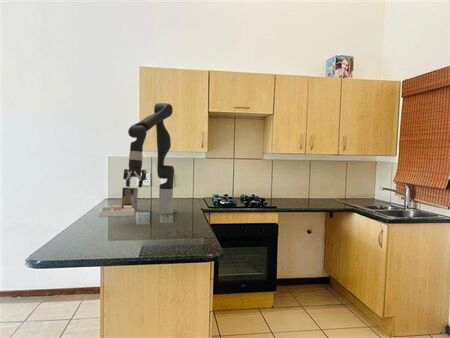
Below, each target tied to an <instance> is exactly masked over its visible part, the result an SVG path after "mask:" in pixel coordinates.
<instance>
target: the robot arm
mask: <svg viewBox="0 0 450 338" xmlns="http://www.w3.org/2000/svg"><path fill="white" fill-rule="evenodd" d="M153 109H154V111H153V113H152V114H150V115H147V116H146V117H144V118H143V119H142V120H141V121H139V122H136V123H134V124H132V125H131V126H130V127H129V128H128V130H127V131H128V136H129V137H130V138H133V139H135V140H133V141H132V142H130V147H129V148H130V149H129V156H128V169H127V168H124V170H123V176H122V179H123V180H125V188H127V187H128V188H131V179H132V178H133V177H134V178H137V179H138V189H139V188H142V187H143V185H144V184H143V182H144V181H146V180H147V170H146V169H142V168H143V157H144V156H143V149H144V147H143V146H144V143H145V141H146V137H147V134H148V133H147V132H149V131H150V130H151V129H152V128H153V127H155V128H156V147H157V148H156V149H157V150H156V151H157V166H156V168H157V170H156V172H157V177H158V178H159V179H163V180H164V179H165V180H166V181H165V182H163V183H161V184H159V187H158V188H159V189H158V190H159V192H158V193H159V194H158V195H159V196H158V197H159V198H158V214H160V215H171V214H173V213H174V199H173V198H174V197H173V196H174V179H175V167H174V165H166V164H165V158H166V156H167V155H168V153H169V151H170V149H171V145H172V143H171V140H172V139H171V136H170V135H171V134H170V133H169V131H168V130H167V128H166V126H165V124H164V120H166V119H168V118H170V117H171V116H172V115H173V112H174V111H173V110H174V108H173V106H172V104H170V103H165V102H164V103H162V102H161V103H160V102H159V103H155V105H154V108H153Z"/></svg>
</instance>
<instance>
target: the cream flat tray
mask: <svg viewBox="0 0 450 338" xmlns="http://www.w3.org/2000/svg"><path fill="white" fill-rule="evenodd" d="M134 216H135V211H134V209H132V210H123V209H122V210H121V211H113V208H111V211H102V208H100V209H99V217H100V218H103V217H106V218H107V217H134Z"/></svg>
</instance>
